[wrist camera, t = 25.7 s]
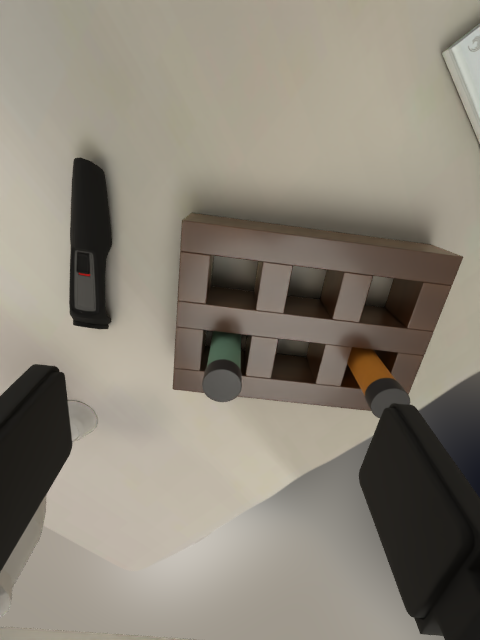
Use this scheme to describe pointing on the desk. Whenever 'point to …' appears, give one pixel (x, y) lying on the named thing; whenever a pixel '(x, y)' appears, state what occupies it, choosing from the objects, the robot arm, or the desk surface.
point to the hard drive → (467, 73)
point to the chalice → (40, 512)
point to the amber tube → (375, 381)
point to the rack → (307, 307)
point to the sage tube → (223, 367)
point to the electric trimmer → (89, 245)
